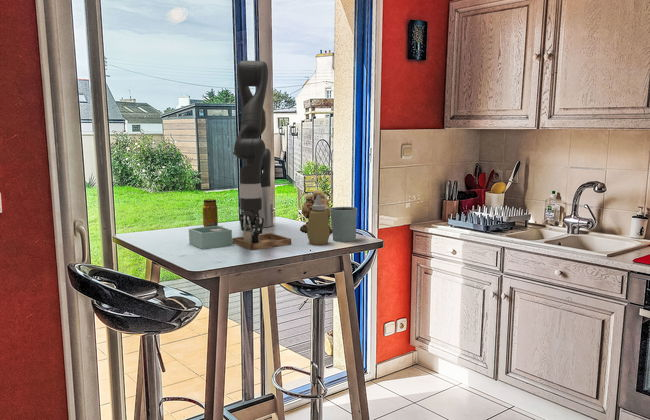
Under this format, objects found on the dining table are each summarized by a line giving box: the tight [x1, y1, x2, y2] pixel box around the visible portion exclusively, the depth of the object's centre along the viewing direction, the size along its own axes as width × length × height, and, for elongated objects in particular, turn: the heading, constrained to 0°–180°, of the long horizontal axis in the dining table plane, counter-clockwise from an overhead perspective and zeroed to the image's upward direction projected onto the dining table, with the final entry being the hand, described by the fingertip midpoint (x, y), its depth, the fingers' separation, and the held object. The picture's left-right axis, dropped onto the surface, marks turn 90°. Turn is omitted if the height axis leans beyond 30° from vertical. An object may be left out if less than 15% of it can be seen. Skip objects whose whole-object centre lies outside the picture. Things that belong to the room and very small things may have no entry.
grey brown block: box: [209, 228, 224, 232], centre depth 195 cm, size 4×4×5 cm
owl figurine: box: [299, 189, 333, 235], centre depth 222 cm, size 18×12×17 cm, turn 34°
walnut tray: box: [232, 232, 292, 251], centre depth 195 cm, size 16×14×3 cm
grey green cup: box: [329, 206, 358, 243], centre depth 205 cm, size 10×10×12 cm
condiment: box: [202, 198, 224, 227], centre depth 231 cm, size 7×8×12 cm
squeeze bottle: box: [306, 195, 331, 246], centre depth 195 cm, size 8×8×18 cm
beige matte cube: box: [242, 229, 260, 244], centre depth 192 cm, size 4×4×5 cm
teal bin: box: [188, 225, 233, 250], centre depth 194 cm, size 11×11×6 cm
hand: (251, 244), depth 193 cm, fingers closed on beige matte cube, 4 cm apart
